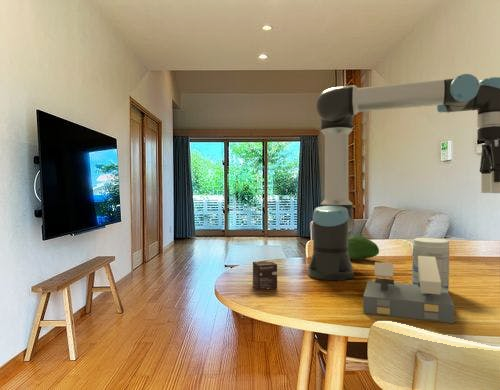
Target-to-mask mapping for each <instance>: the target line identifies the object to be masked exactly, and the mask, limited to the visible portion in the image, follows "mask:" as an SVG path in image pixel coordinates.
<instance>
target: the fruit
mask: <svg viewBox="0 0 500 390" xmlns="http://www.w3.org/2000/svg"><path fill="white" fill-rule="evenodd" d="M379 253H380V249H379V246H378V245H377V243H375V242H374V241H373V240H371V239H369V238H367V237H366V236H364V235H352V236H350V237H349V236H348V255H349V258H350V259H352V260H357V261H359V260H361V261H362V260H366V259H371V258H374V257H377V256H378V255H379Z"/></svg>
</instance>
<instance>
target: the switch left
mask: <svg viewBox="0 0 500 390" xmlns="http://www.w3.org/2000/svg"><path fill="white" fill-rule="evenodd" d="M374 276H376V278H377V277H378V278H379V277H380V278H391V279H393V278H394V263H393V262H377V261H375V262H374Z"/></svg>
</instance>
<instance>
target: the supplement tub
mask: <svg viewBox="0 0 500 390" xmlns="http://www.w3.org/2000/svg"><path fill="white" fill-rule="evenodd" d="M418 256H429V257H435V259H436V263H437V267H438V271H439V276H440V280H441V287H445V288H446V290H447V292H448V293H449V290H450V289H449V287H450V286H449V285H450V283H449V282H450V281H449V280H450V240H447V239H443V238H435V237H434V238H433V237H416V238H414V239H413V243H412V265H411V266H412V271H411V272H412V274H411V275H412V277H411V284H415V285H418V282H420V281H419V273H418Z"/></svg>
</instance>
